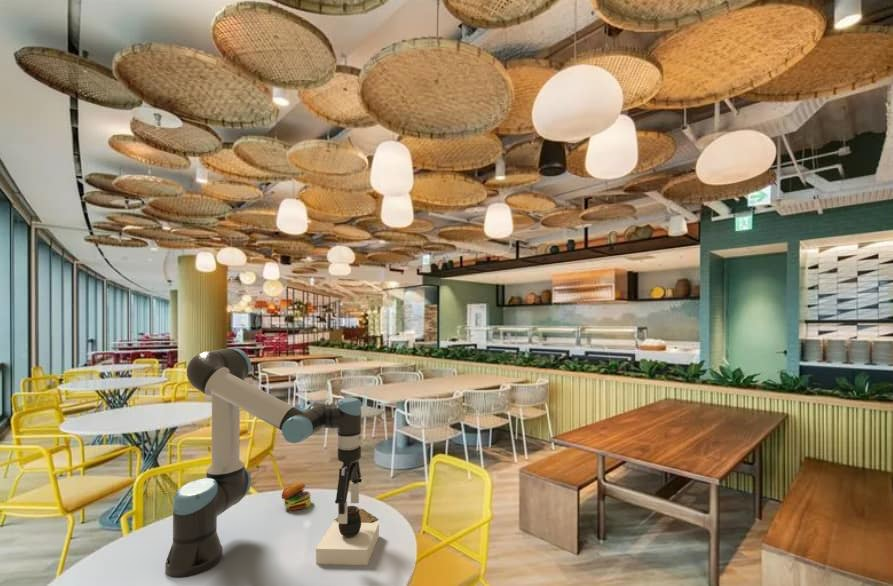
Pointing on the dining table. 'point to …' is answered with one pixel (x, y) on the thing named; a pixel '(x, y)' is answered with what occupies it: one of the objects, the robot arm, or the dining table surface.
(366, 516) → the cookie
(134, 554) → the dining table surface
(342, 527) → the mate gourd
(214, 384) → the robot arm
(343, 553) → the cream square slab
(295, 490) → the cheeseburger
